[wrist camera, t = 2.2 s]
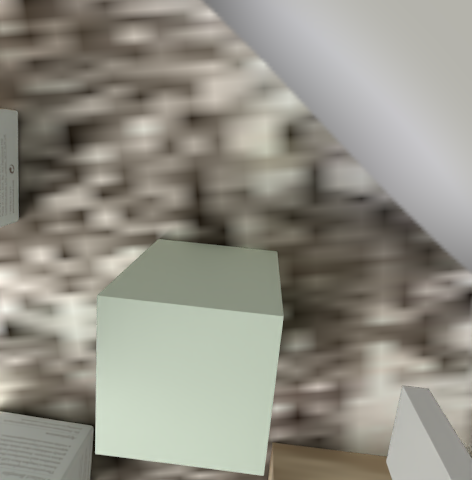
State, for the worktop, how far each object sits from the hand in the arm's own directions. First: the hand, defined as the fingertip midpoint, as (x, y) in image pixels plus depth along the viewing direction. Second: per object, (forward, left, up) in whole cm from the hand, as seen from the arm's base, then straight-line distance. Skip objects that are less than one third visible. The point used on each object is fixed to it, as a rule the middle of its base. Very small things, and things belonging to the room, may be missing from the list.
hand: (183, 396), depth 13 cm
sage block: (0, 0, -9) cm, 9 cm away
